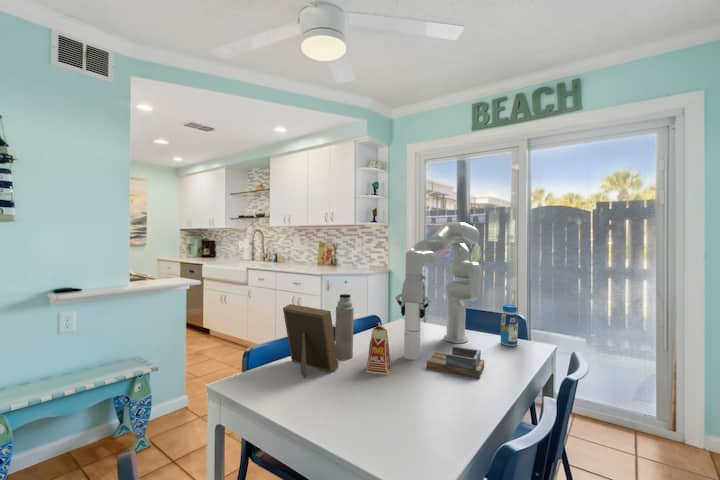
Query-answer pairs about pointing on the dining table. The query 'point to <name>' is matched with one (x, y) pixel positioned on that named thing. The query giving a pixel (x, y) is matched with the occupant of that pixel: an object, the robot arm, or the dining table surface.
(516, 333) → the beverage bottle
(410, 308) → the cylindrical container
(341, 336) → the thermos bottle
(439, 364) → the dock
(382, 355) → the milk carton
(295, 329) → the photo frame
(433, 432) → the dining table surface
